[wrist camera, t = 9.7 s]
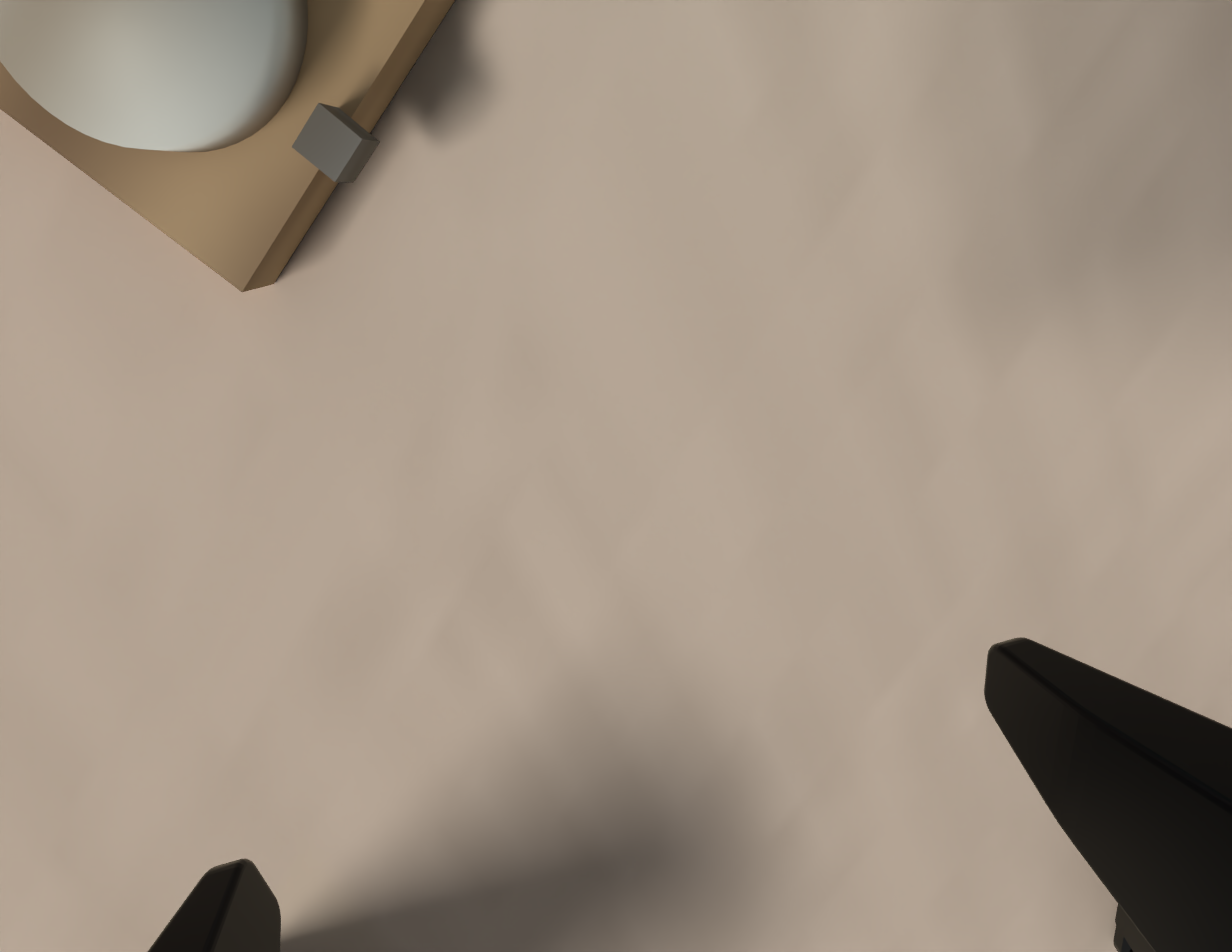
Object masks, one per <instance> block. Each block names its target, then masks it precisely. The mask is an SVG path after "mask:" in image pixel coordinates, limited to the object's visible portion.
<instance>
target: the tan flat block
mask: <svg viewBox="0 0 1232 952" xmlns="http://www.w3.org/2000/svg"><path fill="white" fill-rule="evenodd" d="M454 1H455V0H0V109H1V110H2V111H4V112H5V113H6V114H8V115H9V116H10V117H12V118H13V119H14V120H16V121H17V122H18V123H20V124H21V125H22V126H24V127H25V128H26V129H28V130H29V131H30V132H31V133H33V134H34V135H35V136H37V137H38V138H39V139H41V140H42V141H43V142H45V143H46V144H47V145H49V146H50V147H51V148H53V149H54V150H55V151H57V152H58V153H59V154H61V155H62V156H63V157H64V158H66V159H67V160H68V161H70V162H71V163H72V164H74V165H75V166H76V167H78V168H79V169H80V170H82V171H83V172H84V173H86V174H87V175H88V176H90V177H91V178H92V179H93V180H95V181H96V182H97V183H99V184H100V185H101V186H103V187H104V188H105V189H107V190H108V191H109V192H111V193H112V194H113V195H115V196H116V197H117V198H119V199H120V200H121V201H122V202H124V203H125V204H126V205H128V206H129V207H130V208H132V209H133V210H134V211H136V212H137V213H138V214H140V215H141V216H142V217H144V218H145V219H146V220H148V221H149V222H150V223H151V224H153V225H154V226H155V227H157V228H158V229H159V230H161V231H162V232H163V233H165V234H166V235H167V236H169V237H170V238H171V239H173V240H174V241H175V242H177V243H178V244H179V245H181V246H182V247H183V248H184V249H186V250H187V251H188V252H190V253H191V254H192V255H194V256H195V257H196V258H198V259H199V260H200V261H202V262H203V263H204V264H206V265H207V266H208V267H210V268H211V269H212V270H213V271H215V272H216V273H217V274H219V275H220V276H221V277H223V278H224V279H225V280H227V281H228V282H229V283H231V284H232V285H233V286H235V287H236V288H237V289H239V290H240V291H241V292H244V291H248V290H252V289H256V288H260V287H264V286H268V285H271V284H274V282H275V281H276V279H277V278H278V276H279V275H280V273H281V271H282V270H283V268H284V267H285V265H286V264H287V262H288V261H289V259H290V257H291V256H292V254H293V253H294V251H295V250H296V248H297V246H298V245H299V243H300V242H301V240H302V239H303V237H304V236H305V234H306V232H307V231H308V229H309V228H310V226H311V225H312V223H313V221H314V220H315V218H316V217H317V215H318V214H319V212H320V211H321V209H322V207H323V206H324V204H325V203H326V201H327V200H328V198H329V196H330V195H331V193H332V192H333V190H334V189H335V187H336V186H337V184H338V182H354V181H355V179H356V178H357V176H358V175H359V173H360V172H361V170H362V169H363V167H364V165H365V164H366V162H367V161H368V159H369V158H370V156H371V155H372V153H373V152H374V150H375V148H376V147H377V145H378V144H379V141H378V140H377V139H376V138H374V137H373V136H372V135H371V134H370V132H371V131H372V129H373V128H374V126H375V125H376V123H377V121H378V120H379V118H380V117H381V115H382V114H383V112H384V111H385V109H386V107H387V106H388V104H389V103H390V101H391V100H392V98H393V96H394V95H395V93H396V92H397V90H398V89H399V87H400V86H401V84H402V82H403V81H404V79H405V78H406V76H407V75H408V73H409V71H410V70H411V68H412V67H413V65H414V64H415V62H416V61H417V59H418V57H419V56H420V54H421V53H422V51H423V50H424V48H425V46H426V45H427V43H428V42H429V40H430V39H431V37H432V36H433V34H434V32H435V31H436V29H437V28H438V26H439V25H440V23H441V21H442V20H443V18H444V17H445V15H446V14H447V12H448V11H449V9H450V7H451V6H452V4H453V3H454Z"/></svg>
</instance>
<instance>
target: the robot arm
mask: <svg viewBox="0 0 1232 952" xmlns="http://www.w3.org/2000/svg"><path fill="white" fill-rule="evenodd" d="M984 695H985V700H986V704H987V706H988V709H989V711H990V713H991V714H992V716H993V718H994V719H995V721H996V723H997V724H998V726H999V728H1000V729H1001V731H1002V732H1003V734H1004V736H1005V737H1006V739H1007V741H1008V742H1009V744H1010V746H1011V747H1012V749H1013V750H1014V752H1015V754H1016V755H1017V757H1018V759H1019V760H1020V762H1021V764H1022V765H1023V767H1024V768H1025V770H1026V772H1027V773H1028V775H1029V777H1030V778H1031V780H1032V782H1033V783H1034V785H1035V787H1036V788H1037V790H1038V791H1039V793H1040V795H1041V796H1042V798H1043V800H1044V801H1045V803H1046V805H1047V806H1048V808H1049V809H1050V811H1051V812H1052V814H1053V815H1054V817H1055V818H1056V820H1057V822H1058V823H1059V825H1060V826H1061V827H1062V829H1063V830H1064V832H1065V833H1066V834H1067V836H1068V837H1069V838H1070V840H1071V841H1072V843H1073V844H1074V845H1075V847H1076V848H1077V849H1078V851H1079V852H1080V853H1081V855H1082V856H1083V857H1084V859H1085V860H1086V861H1087V863H1088V864H1089V865H1090V867H1091V868H1092V869H1093V871H1094V872H1095V873H1096V875H1097V876H1098V877H1099V879H1100V880H1101V881H1102V882H1103V884H1104V885H1105V886H1106V888H1107V889H1108V890H1109V892H1110V893H1111V894H1112V896H1113V897H1114V898H1115V900H1116V901H1117V902H1118V907H1117V913H1116V919H1115V922H1116V930H1115V936H1114V946H1115V948H1116V949H1117V951H1118V952H1232V728H1230V727H1228V726H1225V725H1223V724H1221V723H1219V722H1216V721H1214V720H1212V719H1209V718H1207V717H1205V716H1203V715H1200V714H1198V713H1196V712H1194V711H1191V710H1189V709H1187V708H1184V707H1182V706H1180V705H1178V704H1175V703H1173V702H1171V701H1169V700H1166V699H1164V698H1162V697H1160V696H1157V695H1155V694H1153V693H1150V692H1148V691H1146V690H1144V689H1141V688H1139V687H1137V686H1135V685H1132V684H1130V683H1128V682H1125V681H1123V680H1121V679H1119V678H1116V677H1114V676H1112V675H1110V674H1107V673H1105V672H1103V671H1101V670H1098V669H1096V668H1094V667H1091V666H1089V665H1087V664H1085V663H1082V662H1080V661H1078V660H1076V659H1073V658H1071V657H1069V656H1066V655H1064V654H1062V653H1060V652H1057V651H1055V650H1053V649H1051V648H1048V647H1046V646H1044V645H1042V644H1039V643H1037V642H1035V641H1032V640H1030V639H1027V638H1014V639H1011V640H1007V641H1004V642H1000V643H997V644H994V645H992V646H991V648H990V649H989V651H988V657H987V667H986V678H985V688H984ZM280 932H281V916H280V909H279V905H278V902H277V899H276V897H275V896H274V894H273V893H272V891H271V889H270V888H269V886H268V885H267V883H266V882H265V880H264V879H263V877H262V875H261V874H260V872H259V871H258V869H257V868H256V866H255V865H254V863H253V862H252V861H250V860H248V859H240V860H236V861H233V862H229V863H226V864H222V865H219V866H216V867H213V868H211V869H210V870H209V871H208V872H206V873H205V874H204V876H203V877H202V878H201V879H200V881H199V882H198V884H197V885H196V886H195V888H194V889H193V890H192V892H191V893H190V894H189V896H188V897H187V899H186V900H185V901H184V903H183V904H182V905H181V907H180V908H179V910H178V911H177V912H176V914H175V915H174V916H173V918H172V919H171V920H170V922H169V923H168V925H167V926H166V927H165V929H164V930H163V931H162V933H161V934H160V935H159V937H158V938H157V940H156V941H155V942H154V944H153V945H152V946H151V948H150V949H149V951H148V952H280Z"/></svg>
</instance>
